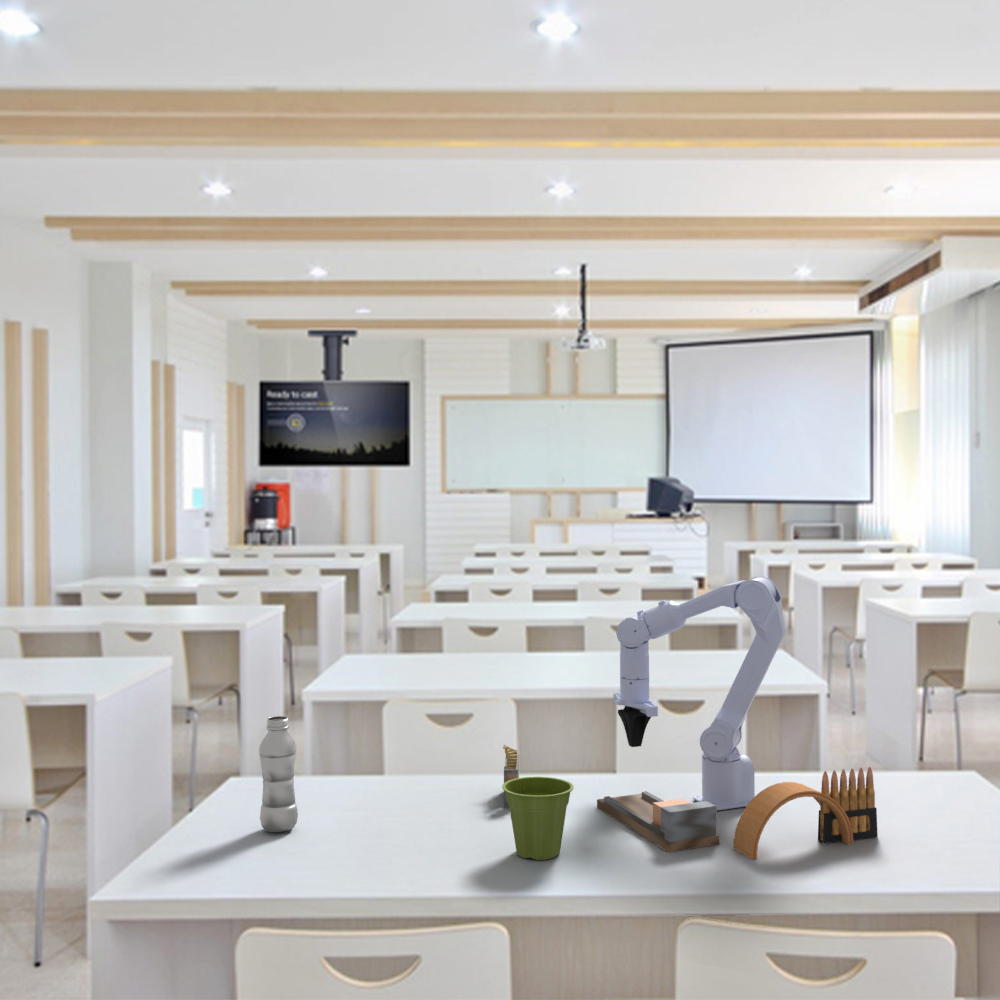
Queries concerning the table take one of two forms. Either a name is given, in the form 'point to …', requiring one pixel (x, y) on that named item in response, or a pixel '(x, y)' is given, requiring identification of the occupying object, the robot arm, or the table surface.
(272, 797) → the plastic bottle
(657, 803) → the block
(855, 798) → the ammunition clip
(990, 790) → the table surface
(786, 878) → the table surface
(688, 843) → the keeper track
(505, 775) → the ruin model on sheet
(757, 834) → the arch
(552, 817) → the plant pot
